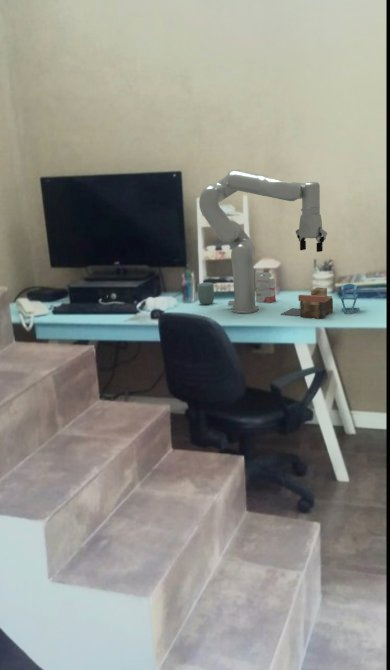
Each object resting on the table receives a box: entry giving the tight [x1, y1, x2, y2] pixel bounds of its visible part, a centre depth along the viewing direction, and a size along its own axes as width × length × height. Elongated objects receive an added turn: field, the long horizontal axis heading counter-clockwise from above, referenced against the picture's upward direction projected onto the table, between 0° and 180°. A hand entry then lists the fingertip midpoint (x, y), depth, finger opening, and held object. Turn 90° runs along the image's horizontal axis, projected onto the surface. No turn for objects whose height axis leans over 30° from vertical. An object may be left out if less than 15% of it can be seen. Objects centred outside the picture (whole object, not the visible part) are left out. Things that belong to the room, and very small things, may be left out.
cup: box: [196, 282, 215, 306], centre depth 315 cm, size 8×8×10 cm
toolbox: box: [299, 297, 334, 320], centre depth 277 cm, size 10×14×7 cm
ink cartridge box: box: [254, 271, 277, 304], centre depth 310 cm, size 9×5×15 cm, turn 55°
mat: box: [280, 307, 300, 317], centre depth 285 cm, size 10×12×1 cm
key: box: [297, 294, 327, 303], centre depth 272 cm, size 12×2×2 cm, turn 56°
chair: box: [340, 283, 361, 315], centre depth 278 cm, size 8×8×12 cm
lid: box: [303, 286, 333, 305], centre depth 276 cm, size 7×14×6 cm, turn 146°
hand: (311, 250), depth 283 cm, fingers open, 9 cm apart
